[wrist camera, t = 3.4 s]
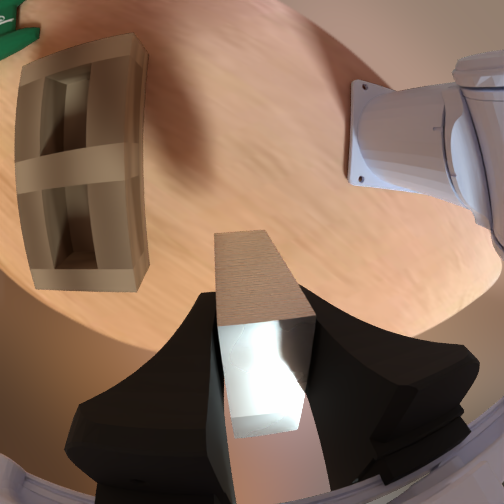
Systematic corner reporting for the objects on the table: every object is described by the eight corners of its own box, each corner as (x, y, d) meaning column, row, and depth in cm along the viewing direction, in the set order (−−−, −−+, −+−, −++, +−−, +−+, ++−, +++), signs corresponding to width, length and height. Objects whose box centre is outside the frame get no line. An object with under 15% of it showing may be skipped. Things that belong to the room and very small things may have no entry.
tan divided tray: (148, 54, 13) (133, 32, 9) (149, 264, 19) (136, 292, 15) (51, 76, 12) (22, 66, 8) (59, 265, 17) (35, 289, 14)
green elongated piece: (32, -1, 9) (-18, 15, 5) (42, -26, 6) (-14, -10, 2) (34, 58, 12) (-24, 80, 8) (42, 33, 10) (-25, 56, 6)
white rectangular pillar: (265, 229, 13) (316, 315, 6) (265, 325, 15) (297, 429, 9) (214, 233, 13) (217, 326, 6) (223, 329, 15) (234, 438, 8)
